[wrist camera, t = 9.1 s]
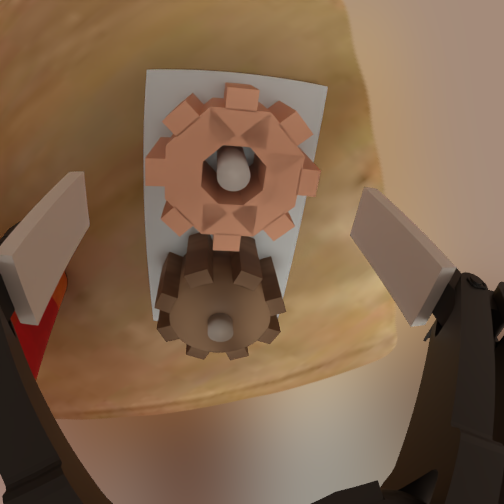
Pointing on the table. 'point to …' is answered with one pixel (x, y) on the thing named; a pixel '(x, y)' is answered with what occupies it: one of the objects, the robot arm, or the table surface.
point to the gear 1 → (205, 178)
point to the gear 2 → (218, 298)
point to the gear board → (221, 157)
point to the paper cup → (39, 328)
